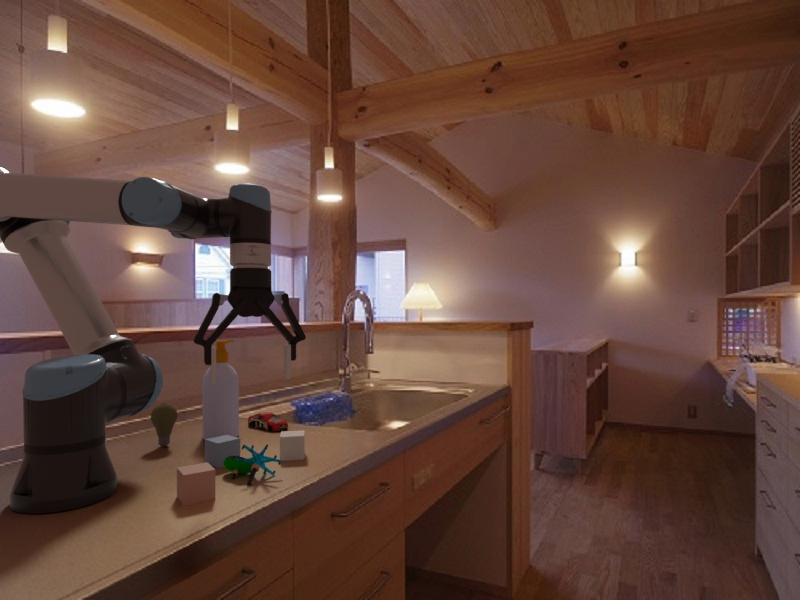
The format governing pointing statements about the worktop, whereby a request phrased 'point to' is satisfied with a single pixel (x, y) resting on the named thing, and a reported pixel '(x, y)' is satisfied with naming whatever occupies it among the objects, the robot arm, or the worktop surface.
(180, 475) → the terracotta cube
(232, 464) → the stick construction toy
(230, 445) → the slate blue cube
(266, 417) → the race car
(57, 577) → the worktop surface
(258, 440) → the worktop surface
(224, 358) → the soap bottle
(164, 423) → the light bulb
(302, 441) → the cream cube
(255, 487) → the worktop surface
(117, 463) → the worktop surface
